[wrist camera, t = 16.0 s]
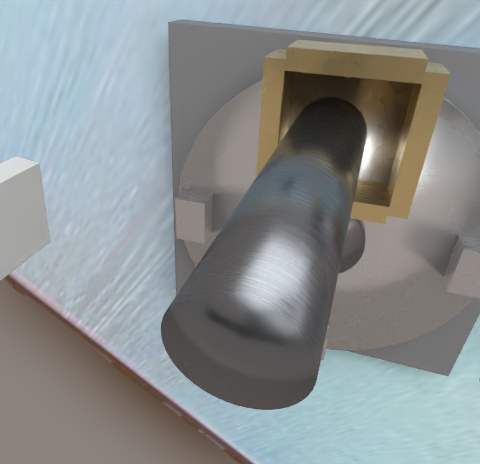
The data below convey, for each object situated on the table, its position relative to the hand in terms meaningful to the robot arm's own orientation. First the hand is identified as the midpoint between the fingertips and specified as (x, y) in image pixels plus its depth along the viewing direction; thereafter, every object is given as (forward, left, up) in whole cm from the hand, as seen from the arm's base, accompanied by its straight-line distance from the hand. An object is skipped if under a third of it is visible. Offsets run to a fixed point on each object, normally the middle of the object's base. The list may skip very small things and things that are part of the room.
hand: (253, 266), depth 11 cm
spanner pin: (-1, +1, -14) cm, 14 cm away
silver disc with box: (-2, +6, -15) cm, 17 cm away
